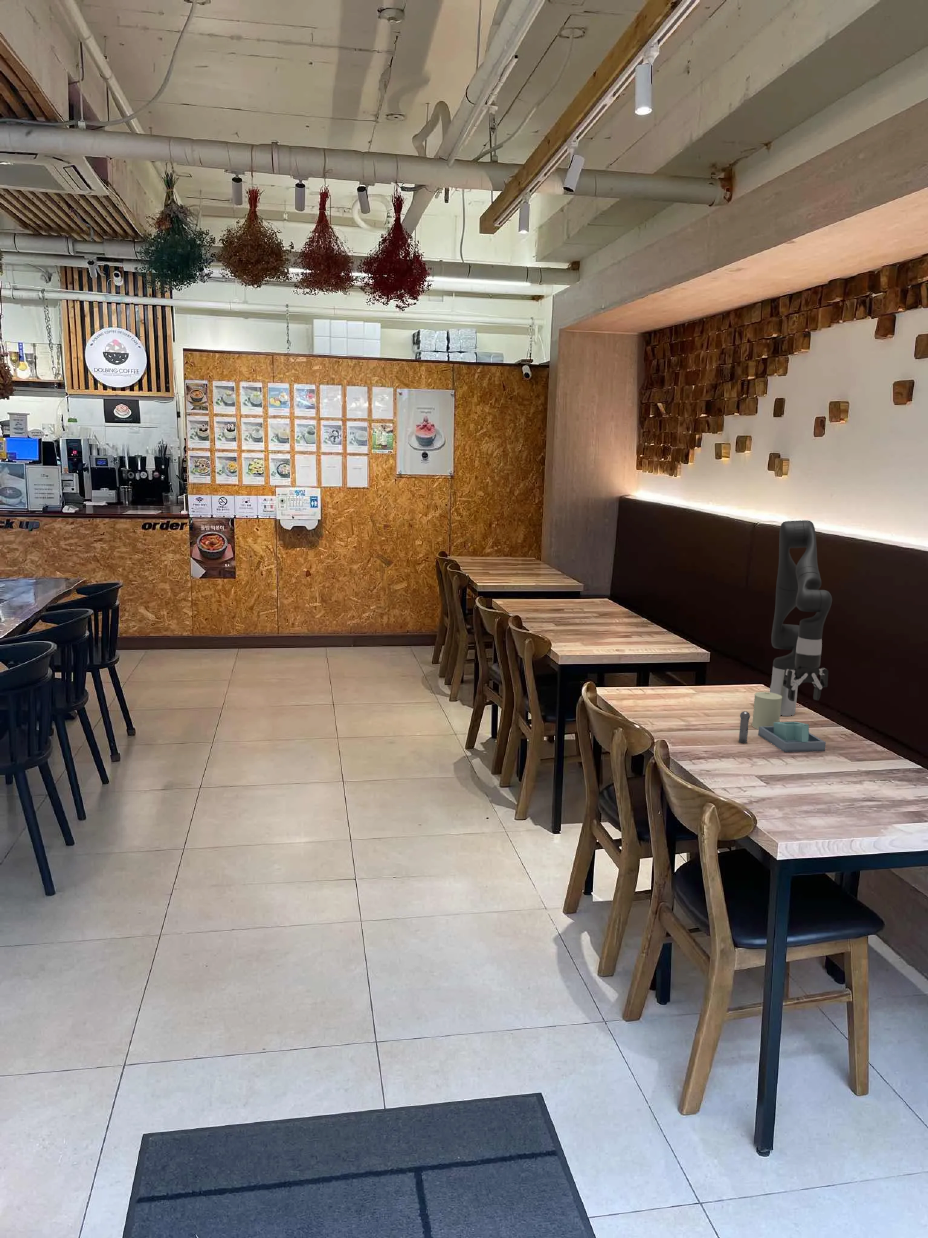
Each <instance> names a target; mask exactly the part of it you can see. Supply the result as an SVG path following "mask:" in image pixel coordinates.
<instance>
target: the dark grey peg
mask: <svg viewBox="0 0 928 1238" xmlns="http://www.w3.org/2000/svg"><path fill="white" fill-rule="evenodd" d="M739 718H740V719H739V721H740V722H739V724H740V725H739V734H738V743H739V744H744V743H745V744H747V743H748V733H749V722H750V718H751V714H750V712H749V711H747V710H744V711H741V712H740V713H739Z"/></svg>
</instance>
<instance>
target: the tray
mask: <svg viewBox="0 0 928 1238" xmlns="http://www.w3.org/2000/svg"><path fill="white" fill-rule="evenodd" d="M757 735H758V736H759V737H760V738H762V739H764V740H765V741H767V742H768V743H769V744H771V743H772V744H771V745H773V746H774V745H775V746H774V747H776V748H777V749H779V750H780V749H781V751H782V752H783V751H784V753H803V752H807V753H809V752H826V744H827V742H826V741H824V740H823V739H821V737H818V736H816V735H815V734H812V733H811V732H809V740H808V742H800V741H796V740H782V739H781V738H779V737H778V736H776V735H774V726H762V727H759V730H758V734H757Z"/></svg>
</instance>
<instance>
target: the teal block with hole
mask: <svg viewBox="0 0 928 1238" xmlns="http://www.w3.org/2000/svg"><path fill="white" fill-rule="evenodd" d="M809 733H810V724H808V723H804V722H798V721H780V722H774V735H776V736H778V737H779V738H781V739H782V740H796V741H800V742H808V740H809Z"/></svg>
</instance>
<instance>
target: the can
mask: <svg viewBox="0 0 928 1238" xmlns="http://www.w3.org/2000/svg"><path fill="white" fill-rule="evenodd" d="M781 701H782V696H781V695H779V694H775V693H770V691H769V692H767V691H759V692H755V693H754V701H753V703H754V704H753V712H752V713H753V714H752V721H751V722H752V723H751V727H752V726H753V727H754V729H756V730H758V731H759V727H762V726H774V722H781V715H780V711H781ZM753 727H752V728H753Z"/></svg>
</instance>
